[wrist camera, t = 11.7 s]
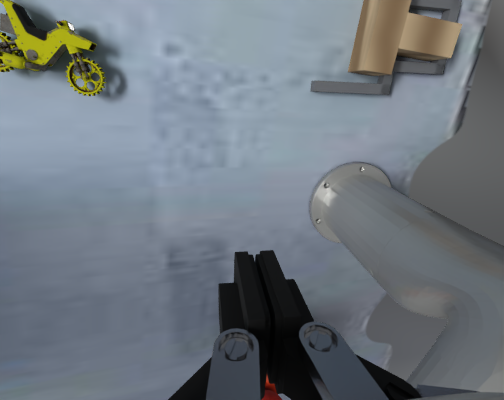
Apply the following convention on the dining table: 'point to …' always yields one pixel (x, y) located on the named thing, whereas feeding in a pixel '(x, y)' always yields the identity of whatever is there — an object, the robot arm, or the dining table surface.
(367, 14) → the oak t block
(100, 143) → the dining table surface
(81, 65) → the toy motorcycle
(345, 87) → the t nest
